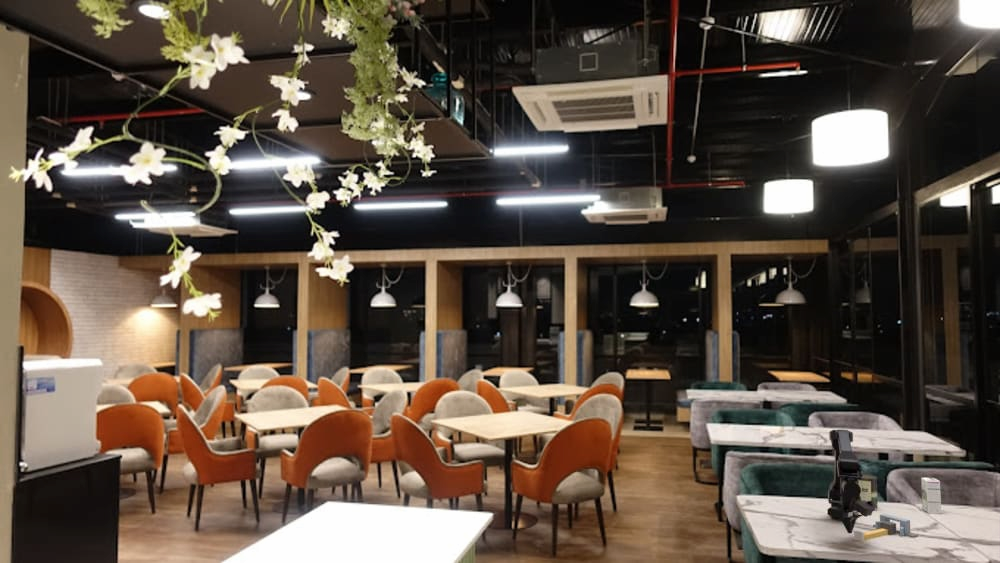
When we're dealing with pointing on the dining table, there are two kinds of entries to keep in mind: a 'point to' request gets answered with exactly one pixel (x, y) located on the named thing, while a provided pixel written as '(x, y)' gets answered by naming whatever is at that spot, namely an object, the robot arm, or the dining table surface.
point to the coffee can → (868, 488)
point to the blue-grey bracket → (903, 522)
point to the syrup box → (931, 495)
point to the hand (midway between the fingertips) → (849, 533)
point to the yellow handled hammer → (877, 531)
